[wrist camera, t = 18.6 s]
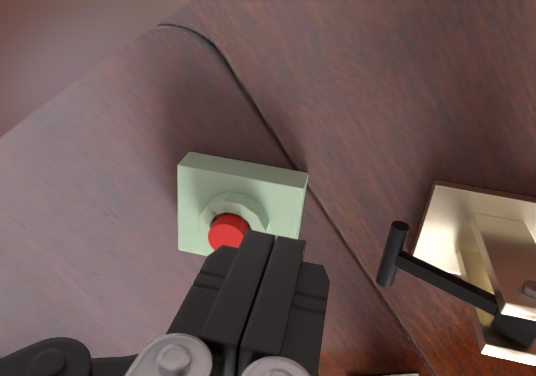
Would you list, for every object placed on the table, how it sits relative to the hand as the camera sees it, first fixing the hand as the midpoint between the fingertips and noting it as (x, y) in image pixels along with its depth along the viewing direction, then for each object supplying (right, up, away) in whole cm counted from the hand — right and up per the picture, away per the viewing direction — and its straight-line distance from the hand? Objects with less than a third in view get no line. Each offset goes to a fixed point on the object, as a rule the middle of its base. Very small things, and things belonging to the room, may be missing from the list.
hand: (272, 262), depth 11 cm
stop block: (-3, 0, +34) cm, 35 cm away
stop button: (-4, -2, +30) cm, 31 cm away
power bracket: (+20, -2, +30) cm, 36 cm away
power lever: (+15, -5, +24) cm, 29 cm away
